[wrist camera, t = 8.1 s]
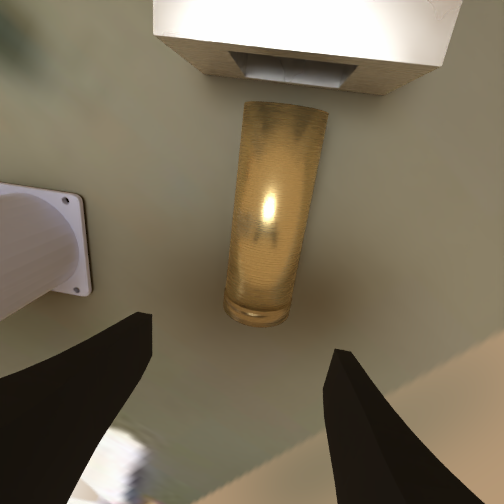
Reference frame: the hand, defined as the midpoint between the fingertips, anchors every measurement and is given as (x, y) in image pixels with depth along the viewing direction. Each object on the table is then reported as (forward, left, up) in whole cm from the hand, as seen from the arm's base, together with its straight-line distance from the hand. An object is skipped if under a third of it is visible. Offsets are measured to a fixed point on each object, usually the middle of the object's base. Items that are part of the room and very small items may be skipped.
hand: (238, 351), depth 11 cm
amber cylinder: (0, +4, -8) cm, 9 cm away
